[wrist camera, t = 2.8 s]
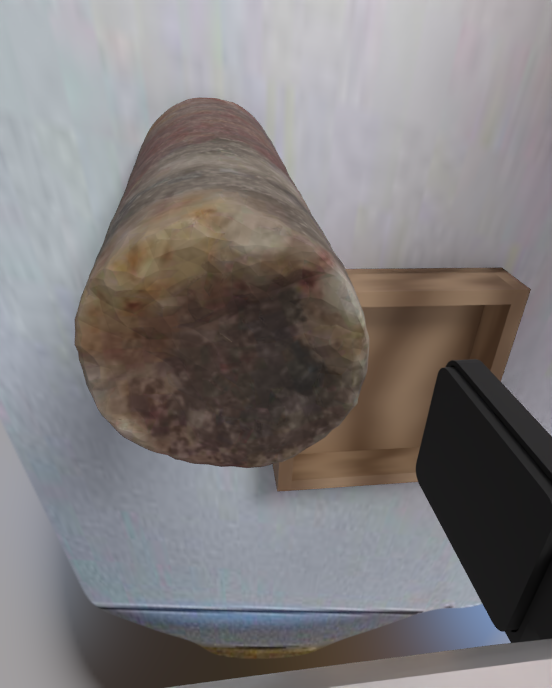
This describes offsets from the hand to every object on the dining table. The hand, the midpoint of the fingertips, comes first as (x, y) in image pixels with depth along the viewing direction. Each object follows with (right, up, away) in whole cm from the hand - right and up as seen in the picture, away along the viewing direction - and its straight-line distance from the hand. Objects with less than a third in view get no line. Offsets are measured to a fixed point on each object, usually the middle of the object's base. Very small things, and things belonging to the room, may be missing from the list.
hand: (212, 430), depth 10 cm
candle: (-3, +12, +19) cm, 22 cm away
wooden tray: (+9, 0, +27) cm, 29 cm away
